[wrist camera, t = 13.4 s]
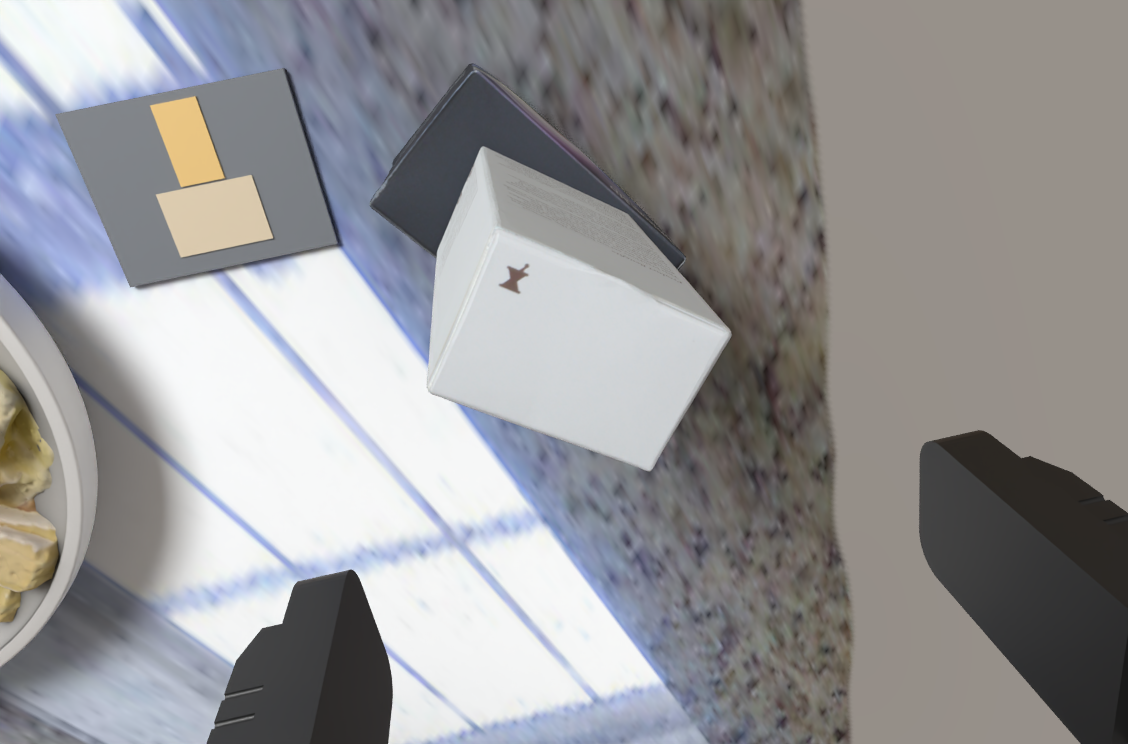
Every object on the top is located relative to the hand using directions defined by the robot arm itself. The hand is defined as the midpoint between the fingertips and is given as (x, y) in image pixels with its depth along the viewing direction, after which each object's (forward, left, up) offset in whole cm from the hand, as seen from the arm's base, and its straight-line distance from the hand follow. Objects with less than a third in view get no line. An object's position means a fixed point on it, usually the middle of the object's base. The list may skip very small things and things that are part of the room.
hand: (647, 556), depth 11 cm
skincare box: (0, 0, -19) cm, 19 cm away
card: (-3, -14, -30) cm, 33 cm away
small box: (0, 0, -30) cm, 30 cm away
